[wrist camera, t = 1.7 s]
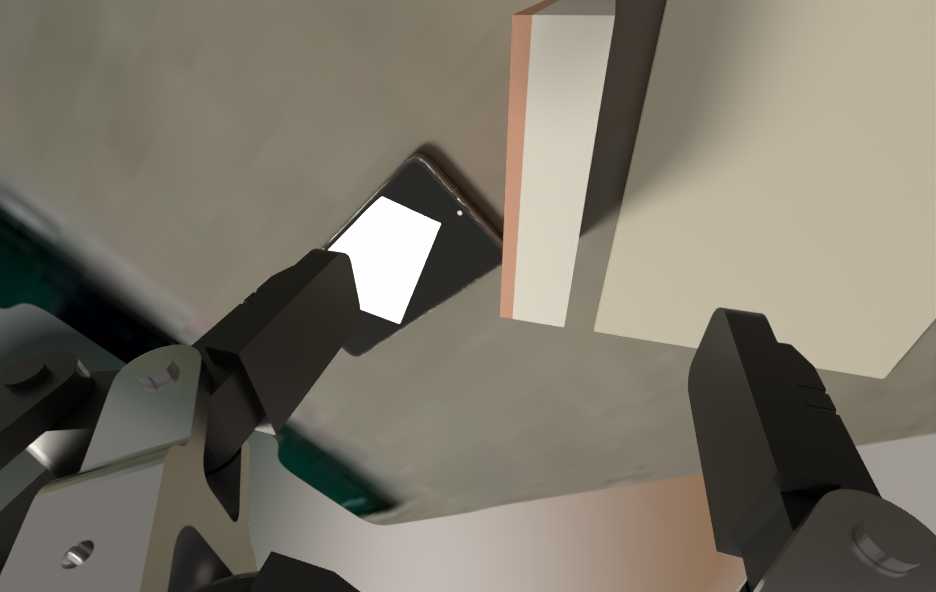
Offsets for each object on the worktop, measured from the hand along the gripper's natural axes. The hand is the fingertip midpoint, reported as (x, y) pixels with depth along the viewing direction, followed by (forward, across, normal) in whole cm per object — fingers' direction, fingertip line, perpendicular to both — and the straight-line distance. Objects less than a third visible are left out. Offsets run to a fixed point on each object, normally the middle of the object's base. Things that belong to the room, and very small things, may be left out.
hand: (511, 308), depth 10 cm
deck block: (+12, 0, 0) cm, 12 cm away
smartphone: (+13, +10, +9) cm, 18 cm away
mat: (+12, -10, +2) cm, 16 cm away
